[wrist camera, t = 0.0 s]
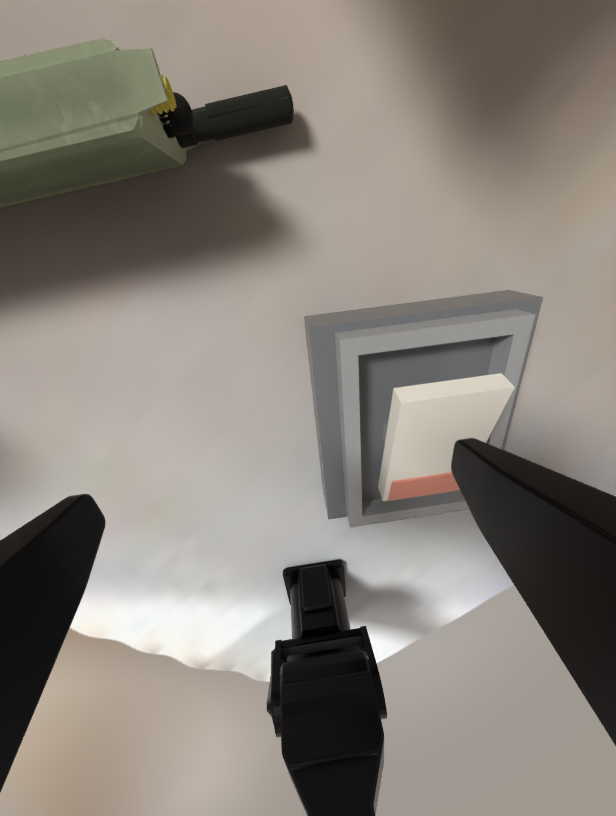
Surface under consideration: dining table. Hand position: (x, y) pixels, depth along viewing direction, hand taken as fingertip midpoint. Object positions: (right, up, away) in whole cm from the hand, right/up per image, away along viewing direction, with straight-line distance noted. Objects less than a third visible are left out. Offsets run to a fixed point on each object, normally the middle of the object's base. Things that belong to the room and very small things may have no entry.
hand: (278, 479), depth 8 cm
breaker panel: (+8, +2, +17) cm, 19 cm away
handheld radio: (-12, +14, +8) cm, 20 cm away
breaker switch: (+9, -1, +12) cm, 15 cm away
